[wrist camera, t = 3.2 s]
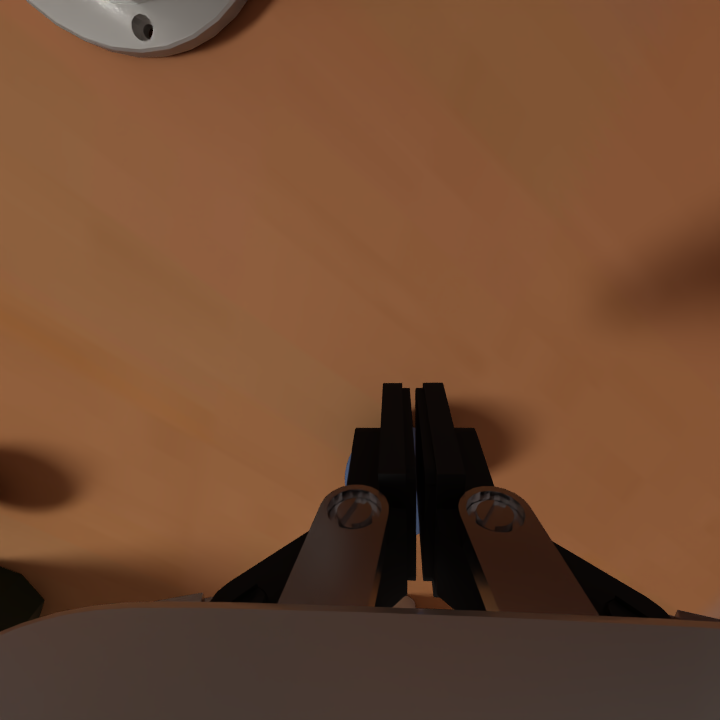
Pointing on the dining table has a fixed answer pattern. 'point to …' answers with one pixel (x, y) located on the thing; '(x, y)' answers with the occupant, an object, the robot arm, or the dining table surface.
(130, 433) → the dining table surface
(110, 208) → the dining table surface
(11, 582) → the wine bottle
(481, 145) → the dining table surface
